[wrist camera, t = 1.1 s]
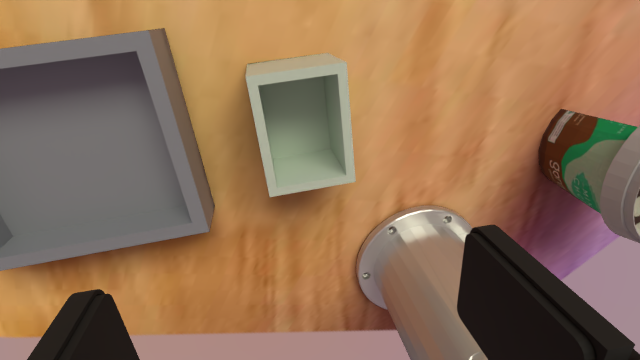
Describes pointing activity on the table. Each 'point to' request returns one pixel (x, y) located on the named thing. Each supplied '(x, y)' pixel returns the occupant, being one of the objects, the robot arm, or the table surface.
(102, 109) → the big crate
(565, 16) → the table surface
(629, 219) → the food container
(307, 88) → the small crate
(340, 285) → the table surface
